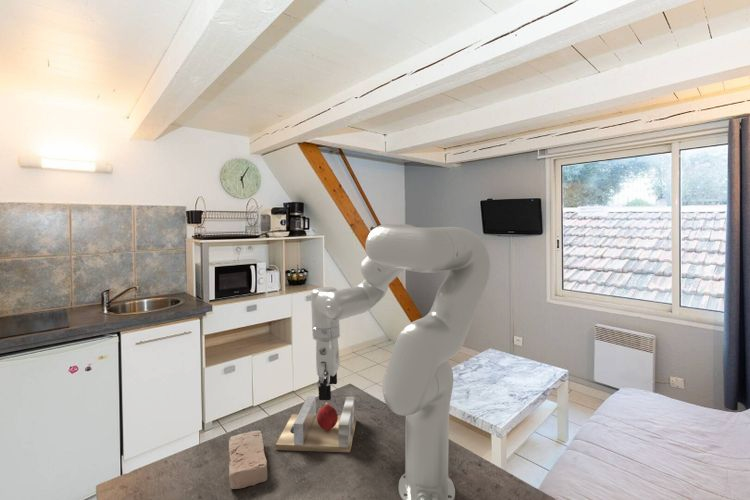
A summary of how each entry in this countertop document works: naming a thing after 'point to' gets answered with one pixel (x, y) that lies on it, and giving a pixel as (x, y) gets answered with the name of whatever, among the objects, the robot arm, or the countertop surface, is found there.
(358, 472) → the countertop surface
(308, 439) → the vise base
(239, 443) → the brick
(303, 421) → the vise jaw
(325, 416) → the onion
